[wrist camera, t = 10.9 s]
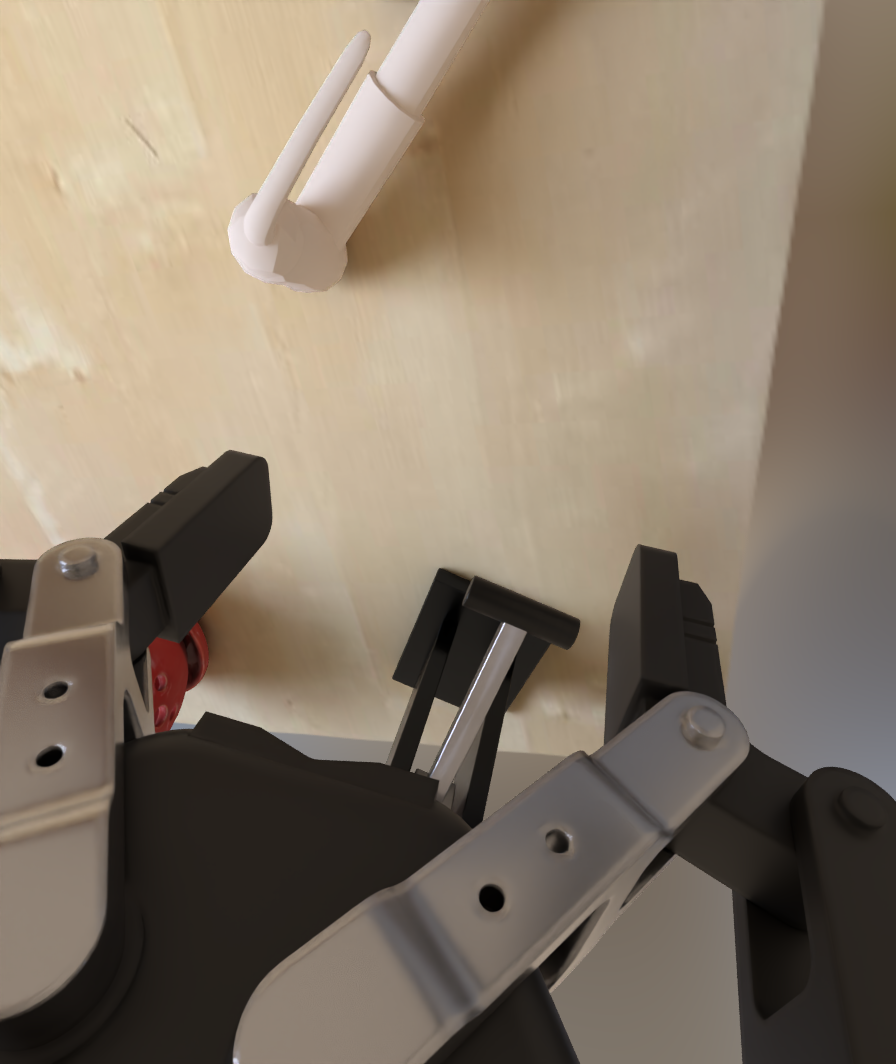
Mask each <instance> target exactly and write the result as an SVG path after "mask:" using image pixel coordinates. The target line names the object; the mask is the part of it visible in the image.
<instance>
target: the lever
mask: <svg viewBox="0 0 896 1064" xmlns="http://www.w3.org/2000/svg"><path fill="white" fill-rule="evenodd" d="M462 605H463V606H464V607H467V608H469V609H471V610H474V611H476V612H478V613H481V614H483V615H485V616H488V617H490V618H493V619H495V620H497V621H500V622H501V623H500V625H499V627H498V629H497V631H496V633H495V635H494V637H493V639H492V641H491V643H490V646H489V648H488V650H487V652H486V654H485V656H484V658H483V660H482V662H481V664H480V667H479V669H478V671H477V673H476V675H475V677H474V679H473V681H472V683H471V685H470V687H469V690H468V692H467V694H466V696H465V698H464V700H463V702H462V704H461V706H460V708H459V711H458V713H457V715H456V717H455V719H454V721H453V723H452V725H451V727H450V729H449V731H448V734H447V736H446V738H445V740H444V742H443V744H442V746H441V749H440V751H439V752H438V755H437V757H436V759H435V761H434V763H433V765H432V767H431V769H430V772H429V773H427V772H425V771H422V770H420V769H416V771H415V773H416V774H419V775H423V776H426V777H430V778H433V779H436V780H440V781H439V786H438V792H437V798H436V800H437V801H439V802H441V803H442V804H444V805H445V806H447V807H448V808H450V809H451V810H452V807H453V801H454V795H455V789H456V785H455V784H453V783H452V782H453V780H454V778H455V776H456V774H457V772H458V770H459V768H460V766H461V764H462V762H463V760H464V758H465V756H466V754H467V752H468V750H469V748H470V746H471V744H472V742H473V740H474V738H475V736H476V734H477V732H478V730H479V728H480V726H481V724H482V722H483V720H484V718H485V716H486V714H487V712H488V710H489V708H490V706H491V704H492V702H493V700H494V698H495V696H496V694H497V692H498V690H499V688H500V686H501V684H502V682H503V680H504V678H505V676H506V674H507V672H508V670H509V668H510V666H511V664H512V662H513V660H514V658H515V656H516V654H517V652H518V650H519V648H520V646H521V644H522V642H523V640H524V638H525V636H526V634H527V633H528V634H530V635H533V636H535V637H537V638H540V639H542V640H545V641H547V642H549V643H552V644H554V645H556V646H559V647H561V648H563V649H566V650H568V649H570V648H571V646H572V645H573V644H574V642H575V640H576V638H577V635H578V632H579V629H580V620H579V619H577V618H575V617H573V616H570V615H568V614H566V613H563V612H561V611H558V610H556V609H554V608H551V607H549V606H547V605H544V604H542V603H540V602H537V601H535V600H532V599H530V598H528V597H525V596H523V595H521V594H518V593H516V592H514V591H511V590H509V589H506V588H504V587H502V586H499V585H497V584H495V583H492V582H490V581H487V580H485V579H483V578H480V577H478V576H474V577H473V578H472V580H471V582H470V585H469V587H468V589H467V592H466V594H465V597H464V600H463V603H462Z"/></svg>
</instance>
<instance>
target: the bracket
mask: <svg viewBox="0 0 896 1064" xmlns="http://www.w3.org/2000/svg"><path fill="white" fill-rule="evenodd" d="M470 582H471V581H469V580H467V579H464V578H462V577H459V576H457V575H455V574H452V573H450V572H448V571H445V570H443V569H441V568H439V569H438V571H437V574H436V576H435V578H434V581H433V583H432V585H431V588H430V590H429V592H428V595H427V597H426V599H425V602H424V604H423V606H422V609H421V611H420V613H419V616H418V618H417V620H416V623H415V625H414V627H413V630H412V632H411V635H410V637H409V639H408V642H407V644H406V646H405V649H404V651H403V653H402V656H401V658H400V660H399V663H398V665H397V667H396V670H395V672H394V674H393V677H392V679H393V680H396V681H398V682H400V683H403V684H405V685H408V686H410V687H412V688H414V689H413V692H412V694H411V697H410V700H409V702H408V705H407V708H406V710H405V713H404V716H403V718H402V721H401V724H400V727H399V729H398V732H397V735H396V737H395V740H394V743H393V746H392V748H391V751H390V753H389V756H388V759H387V761H386V765H389V766H392V767H396V768H399V769H403V770H406V771H409V772H410V769H411V766H412V763H413V760H414V757H415V754H416V751H417V748H418V745H419V742H420V739H421V736H422V733H423V730H424V727H425V724H426V721H427V718H428V715H429V712H430V709H431V706H432V703H433V700H434V697H436V698H438V699H441V700H443V701H445V702H448V703H450V704H452V705H455V706H457V707H459V708H460V706H461V704H462V702H463V700H464V698H465V696H466V694H467V692H468V690H469V687H470V685H471V683H472V681H473V679H474V677H475V675H476V673H477V671H478V669H479V667H480V664H481V662H482V660H483V658H484V656H485V654H486V652H487V650H488V648H489V646H490V643H491V641H492V639H493V637H494V635H495V633H496V631H497V629H498V627H499V625H500V623H501V622H500V621H497V620H495V619H493V618H490V617H488V616H485V615H483V614H481V613H478V612H476V611H474V610H471V609H469V608H467V607H464V606H463V605H462V603H463V600H464V597H465V594H466V592H467V589H468V587H469V585H470ZM550 644H551V643H549V642H547V641H545V640H542V639H540V638H537V637H535V636H533V635H530V634H528V633H527V634H526V636H525V638H524V640H523V642H522V644H521V646H520V648H519V650H518V652H517V654H516V656H515V658H514V660H513V662H512V664H511V666H510V668H509V670H508V672H507V674H506V676H505V678H504V680H503V682H502V684H501V686H500V688H499V690H498V692H497V694H496V696H495V698H494V700H493V702H492V704H491V706H490V708H489V710H488V712H487V714H486V716H485V718H484V720H483V722H482V724H481V726H480V728H479V730H478V732H477V734H476V736H475V738H474V740H473V742H472V744H471V746H470V748H469V750H468V752H467V754H466V756H465V758H464V760H463V762H462V764H461V766H460V768H459V770H458V772H457V774H456V776H455V780H454V784H455V785H456V789H455V795H454V801H453V807H452V811H453V812H455V813H456V814H457V815H458V816H460V817H461V818H462V819H463V820H464V821H465V822H466V823H467V824H468V825H469V826H470V827H471V829H473V828H475V827H476V826H477V825H479V824H480V823H481V822H482V821H483V816H484V811H485V806H486V801H487V796H488V792H489V786H490V781H491V777H492V772H493V767H494V762H495V758H496V753H497V748H498V743H499V738H500V733H501V728H502V724H503V719H504V714H505V713H506V711H507V710H508V708H509V707H510V705H511V704H512V702H513V700H514V699H515V697H516V696H517V694H518V693H519V691H520V690H521V688H522V687H523V685H524V684H525V682H526V681H527V679H528V678H529V676H530V675H531V673H532V671H533V670H534V668H535V667H536V665H537V664H538V662H539V661H540V659H541V658H542V656H543V655H544V653H545V652H546V650H547V649H548V647H549V646H550Z"/></svg>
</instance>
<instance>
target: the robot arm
mask: <svg viewBox="0 0 896 1064" xmlns="http://www.w3.org/2000/svg"><path fill="white" fill-rule="evenodd" d="M271 525H272V505H271V493H270V482H269V470H268V464H267V461H266V460H265V459H264V458H263V457H259V456H255V455H251V454H246V453H242V452H237V451H233V450H229V451H226V452H225V453H224V454H223V455H221V456H220V457H219V458H218V459H217V460H216V461H214V462H213V463H212V464H211V465H210V466H209V467H200V468H198V469H196V470H193V471H191V472H189V473H186V474H184V475H181V476H179V477H178V478H177V479H176V480H175V481H173V482H172V483H171V484H170V485H169V486H167V487H166V488H165V489H164V492H160V493H159V494H158V495H156V496H155V497H154V498H153V499H152V500H151V503H147V504H145V505H144V506H143V507H142V508H141V509H139V510H138V511H137V512H136V513H134V514H133V515H132V516H131V517H130V518H128V519H127V520H126V521H125V522H124V523H122V524H121V525H120V526H119V527H117V528H116V529H115V530H114V531H113V532H111V533H110V534H109V535H108V536H106V537H105V538H104V539H101V538H82V539H76V540H71V541H68V542H65V543H62V544H59V545H57V546H55V547H53V548H51V549H50V550H48V551H47V552H45V553H44V554H43V555H42V556H41V557H40V558H39V559H38V560H16V559H0V1064H580V1062H579V1060H578V1058H577V1055H576V1053H575V1051H574V1049H573V1046H572V1044H571V1042H570V1039H569V1037H568V1035H567V1032H566V1030H565V1028H564V1025H563V1023H562V1021H561V1018H560V1016H559V1014H558V1012H557V1009H556V1007H555V1004H554V1002H553V1000H552V997H551V995H550V994H551V992H552V991H553V990H554V989H555V988H556V987H557V986H558V985H559V984H560V983H561V982H562V981H563V980H564V979H565V978H566V977H567V976H568V975H569V974H570V972H571V971H572V970H573V969H574V968H575V967H576V966H577V965H578V964H579V963H580V962H581V961H582V960H583V958H584V957H585V956H586V955H587V954H588V953H589V952H590V951H591V949H592V948H593V947H594V946H595V945H596V943H597V942H598V941H599V940H600V939H601V937H602V936H603V935H604V933H605V932H606V931H607V930H608V929H609V927H610V926H611V925H612V924H613V923H614V922H615V921H616V919H617V918H618V917H619V916H620V915H621V914H622V913H623V912H624V911H625V910H626V909H627V908H628V907H629V906H630V905H631V904H632V903H633V901H634V900H636V898H637V897H638V896H639V895H640V894H641V893H642V892H643V891H644V890H645V889H646V888H647V887H648V886H649V885H650V884H651V883H652V882H653V881H654V880H655V879H656V878H657V876H658V875H659V874H660V873H661V872H662V871H663V870H664V869H665V868H666V867H667V866H668V865H669V864H670V863H671V862H672V861H673V860H674V859H675V858H676V857H677V856H680V857H682V858H683V859H685V860H686V861H688V862H689V863H691V864H693V865H694V866H696V867H697V868H699V869H700V870H702V871H704V872H705V873H707V874H708V875H710V876H711V877H713V878H715V879H716V880H718V881H719V882H721V883H722V884H724V885H726V886H727V887H729V888H730V889H732V894H733V895H732V896H733V913H734V929H735V944H736V945H735V946H736V961H737V978H738V995H739V1012H740V1029H741V1045H742V1061H743V1064H896V801H895V800H894V799H893V798H892V797H891V796H890V795H889V794H888V793H887V792H886V791H885V790H883V789H882V788H881V787H879V786H878V785H877V784H876V783H874V782H872V781H871V780H869V779H868V778H866V777H864V776H862V775H860V774H858V773H856V772H853V771H850V770H847V769H843V768H838V767H824V768H821V769H818V770H816V771H814V772H813V773H812V774H811V775H810V776H809V777H806V776H804V775H802V774H800V773H798V772H796V771H795V770H793V769H791V768H789V767H787V766H785V765H783V764H781V763H780V762H778V761H776V760H774V759H772V758H771V757H769V756H767V755H765V754H764V753H762V752H761V751H759V750H758V749H757V748H755V747H754V746H753V745H751V743H750V742H749V737H748V734H747V731H746V730H745V728H744V726H743V724H742V723H741V721H740V720H739V719H738V717H737V716H736V715H735V714H734V713H733V712H732V711H731V710H730V709H728V708H727V706H726V700H725V693H724V686H723V679H722V672H721V666H720V659H719V652H718V645H716V641H717V639H716V632H715V628H714V618H713V611H712V605H711V603H710V601H709V600H708V598H707V597H706V595H705V594H704V592H703V591H702V589H701V588H700V586H699V585H698V584H697V583H692V582H688V581H684V580H679V571H678V559H677V554H676V553H674V552H670V551H666V550H661V549H657V548H653V547H648V546H644V545H640V544H638V545H637V547H636V548H635V550H634V553H633V556H632V558H631V561H630V564H629V566H628V569H627V572H626V575H625V577H624V580H623V583H622V586H621V588H620V591H619V594H618V596H617V599H616V602H615V605H614V609H613V613H612V618H611V624H610V635H609V654H608V673H607V693H606V712H605V731H604V746H602V747H601V748H600V749H599V750H597V751H596V752H595V753H593V754H591V755H589V756H588V755H587V754H586V753H585V752H584V751H577V752H575V753H573V754H571V755H570V756H568V757H567V758H565V759H564V760H563V761H562V762H560V763H559V764H558V765H556V766H555V767H554V768H552V769H551V770H550V771H548V772H547V773H546V774H544V775H543V776H542V777H540V778H539V779H538V780H537V781H535V782H534V783H533V784H531V785H530V786H529V787H527V788H526V789H525V790H523V791H522V792H521V793H519V794H518V795H517V796H515V797H514V798H513V799H512V800H510V801H509V802H508V803H506V804H505V805H504V806H502V807H501V808H500V809H499V810H497V811H496V812H494V813H493V814H492V815H491V816H489V817H488V818H487V819H485V820H484V821H483V822H481V823H480V824H479V825H477V826H476V827H475V828H473V829H471V827H470V826H469V825H468V824H467V823H466V822H465V821H464V820H463V819H462V818H461V817H460V816H458V815H457V814H456V813H455V812H453V811H452V810H451V809H450V808H448V807H447V806H445V805H444V804H442V803H441V802H439V801H437V800H436V798H437V792H438V786H439V781H440V780H436V779H433V778H430V777H426V776H423V775H419V774H416V773H413V772H409V771H406V770H403V769H399V768H396V767H392V766H389V765H386V764H382V763H374V762H353V761H333V760H332V761H330V760H316V759H312V758H309V757H307V756H306V755H304V754H303V753H301V752H299V751H298V750H296V749H294V748H293V747H291V746H289V745H288V744H286V743H285V742H283V741H282V740H280V739H278V738H277V737H275V736H274V735H272V734H270V733H269V732H267V731H265V730H264V729H262V728H260V727H257V726H254V725H250V724H247V723H243V722H240V721H237V720H233V719H230V718H227V717H223V716H220V715H216V714H213V713H210V712H205V713H204V715H203V716H202V718H201V719H200V720H199V722H198V723H197V725H196V726H195V728H194V729H178V730H169V731H163V732H158V733H155V726H154V709H153V690H152V672H151V656H150V651H149V648H148V646H149V645H150V644H151V643H152V642H153V641H154V640H155V639H156V637H158V638H162V639H165V640H169V641H172V642H176V643H180V642H181V641H182V640H183V639H184V637H185V636H186V635H187V634H188V633H189V631H190V630H191V629H192V628H193V627H194V626H195V624H196V623H197V622H198V621H199V620H200V618H201V617H202V616H203V615H204V614H205V612H206V611H207V610H208V609H209V608H210V607H211V605H212V604H213V603H214V602H215V601H216V599H217V598H218V597H219V596H220V595H221V593H222V592H223V591H224V590H225V589H226V588H227V586H228V585H229V584H230V583H231V582H232V580H233V579H234V578H235V577H236V576H237V575H238V573H239V572H240V571H241V570H242V569H243V567H244V566H245V565H246V564H247V563H248V561H249V560H250V559H251V558H252V557H253V556H254V554H255V553H256V552H257V551H258V550H259V548H260V547H261V546H262V545H263V544H264V542H265V541H266V539H267V537H268V535H269V532H270V529H271Z"/></svg>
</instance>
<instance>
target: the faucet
mask: <svg viewBox="0 0 896 1064" xmlns="http://www.w3.org/2000/svg"><path fill="white" fill-rule="evenodd" d="M489 1H490V0H420V1H419V3H418V5H417V6H416V8H415V10H414V11H413V13H412V15H411V16H410V18H409V20H408V21H407V23H406V25H405V26H404V28H403V30H402V31H401V33H400V35H399V37H398V38H397V40H396V42H395V43H394V45H393V47H392V48H391V50H390V52H389V53H388V55H387V57H386V58H385V60H384V62H383V63H382V65H381V67H380V69H379V70H378V72H375V71H372V70H371V71H370V72H369V73H368V75H367V77H366V79H365V80H364V82H363V84H362V86H361V87H360V89H359V91H358V93H357V95H356V96H355V98H354V100H353V102H352V103H351V105H350V107H349V109H348V111H347V112H346V114H345V116H344V118H343V119H342V121H341V123H340V125H339V127H338V128H337V130H336V132H335V134H334V135H333V137H332V139H331V141H330V143H329V144H328V146H327V148H326V150H325V151H324V153H323V155H322V157H321V159H320V160H319V162H318V164H317V166H316V167H315V169H314V171H313V173H312V175H311V176H310V178H309V180H308V182H307V183H306V185H305V187H304V189H303V190H302V192H301V194H300V196H299V198H298V199H297V201H296V203H293V202H292V201H290V200H288V199H287V198H288V196H289V194H290V192H291V190H292V188H293V186H294V184H295V183H296V181H297V179H298V177H299V175H300V173H301V171H302V169H303V168H304V166H305V164H306V162H307V160H308V158H309V156H310V155H311V153H312V151H313V149H314V147H315V145H316V143H317V142H318V140H319V138H320V136H321V135H322V133H323V131H324V130H325V128H326V126H327V124H328V123H329V121H330V119H331V117H332V116H333V114H334V112H335V111H336V109H337V107H338V105H339V104H340V102H341V100H342V99H343V97H344V95H345V93H346V92H347V90H348V88H349V87H350V85H351V83H352V81H353V80H354V78H355V76H356V75H357V73H358V71H359V69H360V68H361V66H362V64H363V62H364V59H365V57H366V55H367V52H368V50H369V48H370V41H371V36H370V34H369V32H368V31H366V30H363V31H360V32H358V33H357V34H356V35H355V36H354V38H353V39H352V40H351V41H350V43H349V44H348V45H347V46H346V48H345V49H344V51H343V52H342V54H341V56H340V57H339V59H338V60H337V62H336V64H335V65H334V67H333V69H332V70H331V72H330V73H329V75H328V77H327V78H326V80H325V81H324V83H323V85H322V86H321V88H320V90H319V91H318V93H317V94H316V96H315V98H314V99H313V101H312V102H311V104H310V106H309V107H308V109H307V111H306V112H305V114H304V115H303V117H302V119H301V120H300V122H299V123H298V125H297V127H296V129H295V130H294V132H293V134H292V135H291V137H290V139H289V141H288V142H287V144H286V146H285V147H284V149H283V151H282V153H281V154H280V156H279V158H278V159H277V161H276V163H275V165H274V166H273V168H272V170H271V171H270V173H269V175H268V177H267V178H266V180H265V182H264V183H263V185H262V187H261V189H260V190H259V192H258V193H252V194H251V195H249V196H248V197H247V198H246V199H244V200H243V201H242V202H241V203H240V204H238V205H237V206H236V207H235V208H234V211H233V214H232V217H231V220H230V223H229V226H228V235H229V241H230V247H231V253H232V254H233V256H234V257H235V259H236V260H237V261H238V263H239V264H240V266H241V267H242V269H243V270H244V271H245V273H247V274H249V275H251V276H253V277H255V278H257V279H259V280H261V281H263V282H265V283H270V284H277V285H284V286H286V287H288V288H290V289H292V290H294V291H298V292H321V291H327V290H328V289H329V288H331V287H332V286H333V285H335V284H336V283H337V282H339V281H340V280H341V278H342V275H343V273H344V270H345V268H346V265H347V263H348V258H347V249H346V242H347V241H348V239H349V238H350V236H351V235H352V233H353V232H354V230H355V228H356V227H357V225H358V224H359V222H360V221H361V219H362V218H363V216H364V215H365V213H366V211H367V210H368V208H369V207H370V205H371V204H372V202H373V201H374V199H375V198H376V196H377V195H378V193H379V191H380V190H381V188H382V187H383V185H384V184H385V182H386V181H387V179H388V178H389V176H390V174H391V173H392V171H393V170H394V168H395V167H396V165H397V164H398V162H399V161H400V159H401V157H402V156H403V154H404V153H405V151H406V150H407V148H408V147H409V145H410V144H411V142H412V141H413V139H414V137H415V136H416V134H417V133H418V131H419V130H420V128H421V127H422V125H423V123H424V120H425V119H424V117H423V115H422V112H423V111H424V109H425V107H426V106H427V104H428V102H429V101H430V99H431V97H432V96H433V94H434V92H435V91H436V89H437V87H438V86H439V84H440V82H441V81H442V79H443V77H444V76H445V74H446V72H447V71H448V69H449V67H450V66H451V64H452V62H453V61H454V59H455V57H456V56H457V54H458V52H459V51H460V49H461V47H462V46H463V44H464V42H465V41H466V39H467V37H468V36H469V34H470V32H471V31H472V29H473V27H474V26H475V24H476V22H477V21H478V19H479V17H480V16H481V14H482V12H483V11H484V9H485V7H486V6H487V4H488V2H489Z"/></svg>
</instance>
